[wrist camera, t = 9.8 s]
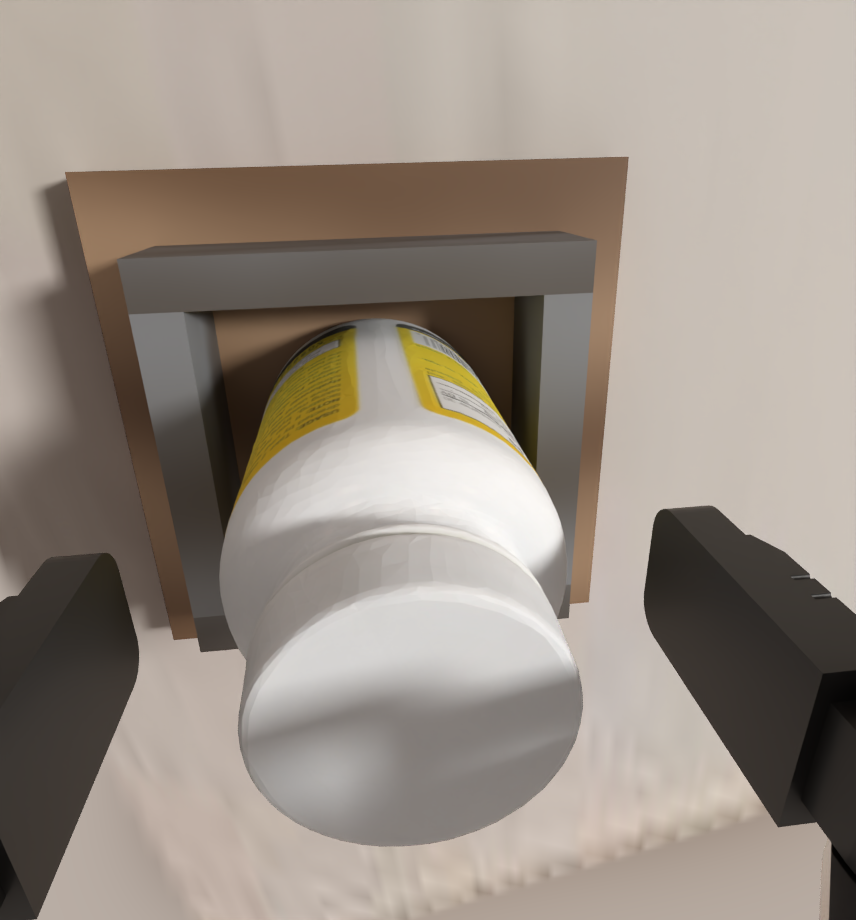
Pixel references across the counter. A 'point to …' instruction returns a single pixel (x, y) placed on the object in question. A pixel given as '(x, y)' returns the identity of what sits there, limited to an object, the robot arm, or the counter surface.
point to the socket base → (346, 320)
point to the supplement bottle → (396, 597)
